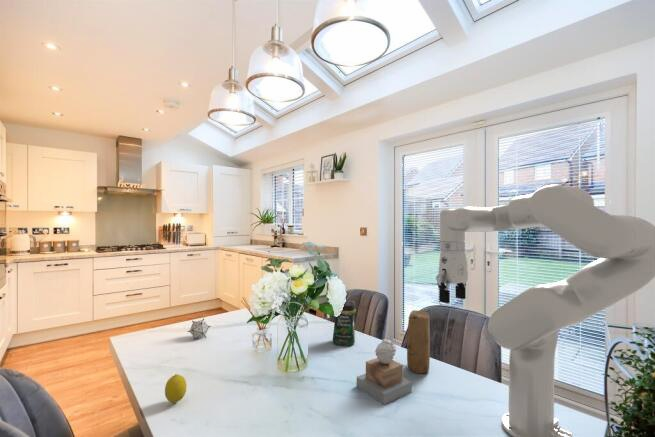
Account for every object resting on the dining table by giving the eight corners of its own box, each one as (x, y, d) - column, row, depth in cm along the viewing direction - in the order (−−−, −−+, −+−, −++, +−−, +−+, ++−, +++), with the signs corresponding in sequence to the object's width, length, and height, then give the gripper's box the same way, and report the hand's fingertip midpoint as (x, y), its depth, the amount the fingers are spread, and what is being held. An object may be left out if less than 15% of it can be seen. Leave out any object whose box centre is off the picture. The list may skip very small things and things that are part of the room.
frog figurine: (400, 363, 97) (400, 341, 97) (385, 369, 93) (386, 346, 93) (385, 356, 102) (385, 335, 102) (370, 362, 97) (370, 340, 97)
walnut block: (402, 381, 96) (402, 364, 96) (384, 388, 91) (384, 371, 91) (383, 370, 102) (383, 355, 103) (365, 377, 98) (365, 361, 98)
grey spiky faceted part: (194, 347, 136) (179, 330, 134) (206, 334, 143) (192, 317, 142) (206, 341, 132) (191, 323, 131) (218, 327, 140) (204, 310, 138)
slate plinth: (411, 391, 96) (411, 382, 96) (384, 404, 88) (384, 394, 89) (383, 375, 105) (383, 367, 105) (356, 386, 98) (356, 376, 98)
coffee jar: (331, 345, 131) (331, 301, 131) (334, 338, 139) (335, 297, 139) (353, 347, 129) (354, 303, 129) (356, 340, 136) (356, 298, 137)
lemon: (180, 395, 92) (181, 368, 92) (189, 402, 88) (190, 374, 88) (161, 403, 87) (161, 374, 88) (169, 411, 84) (170, 381, 84)
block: (428, 376, 105) (428, 317, 105) (405, 372, 108) (406, 314, 108) (431, 363, 115) (431, 309, 115) (410, 359, 118) (411, 307, 118)
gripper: (448, 248, 92) (449, 306, 92) (476, 246, 103) (477, 298, 102) (426, 247, 98) (427, 302, 97) (455, 245, 109) (455, 295, 108)
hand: (452, 300), depth 100 cm, fingers open, 9 cm apart
